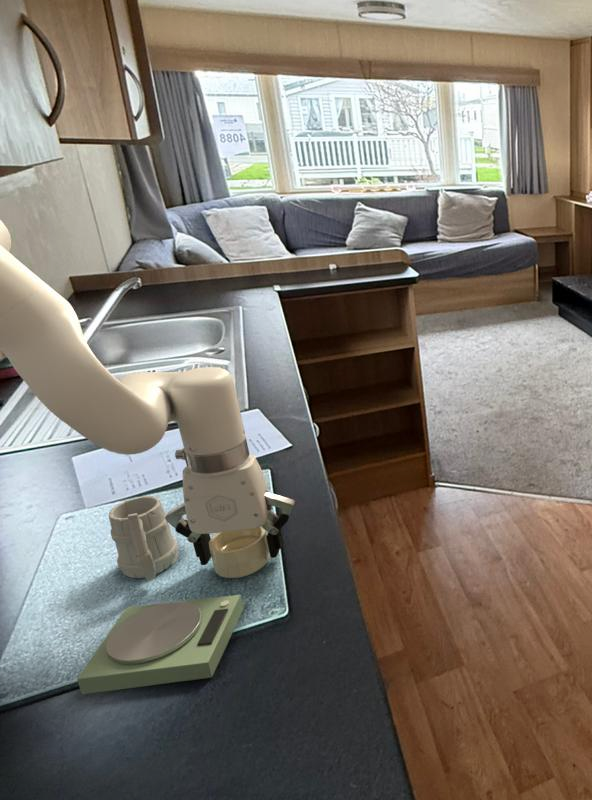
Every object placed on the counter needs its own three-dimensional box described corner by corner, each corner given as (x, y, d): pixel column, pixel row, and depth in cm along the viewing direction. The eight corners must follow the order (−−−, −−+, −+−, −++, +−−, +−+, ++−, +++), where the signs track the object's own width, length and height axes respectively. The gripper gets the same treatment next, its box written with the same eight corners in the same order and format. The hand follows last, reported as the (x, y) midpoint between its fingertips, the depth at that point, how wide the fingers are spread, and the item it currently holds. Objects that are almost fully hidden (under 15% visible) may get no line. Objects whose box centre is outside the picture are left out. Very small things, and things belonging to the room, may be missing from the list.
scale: (81, 694, 76) (75, 677, 75) (131, 621, 87) (126, 605, 86) (212, 677, 78) (207, 660, 77) (244, 608, 89) (240, 592, 88)
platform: (89, 669, 76) (88, 665, 76) (131, 610, 85) (129, 606, 85) (183, 658, 77) (182, 654, 77) (213, 600, 87) (212, 597, 86)
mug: (178, 541, 103) (160, 475, 99) (185, 582, 94) (165, 511, 90) (120, 558, 99) (98, 490, 94) (121, 603, 90) (97, 530, 85)
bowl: (208, 583, 94) (200, 555, 92) (225, 552, 100) (219, 525, 99) (263, 577, 95) (256, 549, 93) (276, 547, 102) (271, 520, 100)
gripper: (137, 473, 86) (168, 578, 92) (276, 462, 89) (297, 564, 95) (162, 447, 93) (189, 546, 99) (290, 437, 96) (309, 534, 102)
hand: (242, 555), depth 97 cm, fingers open, 9 cm apart
